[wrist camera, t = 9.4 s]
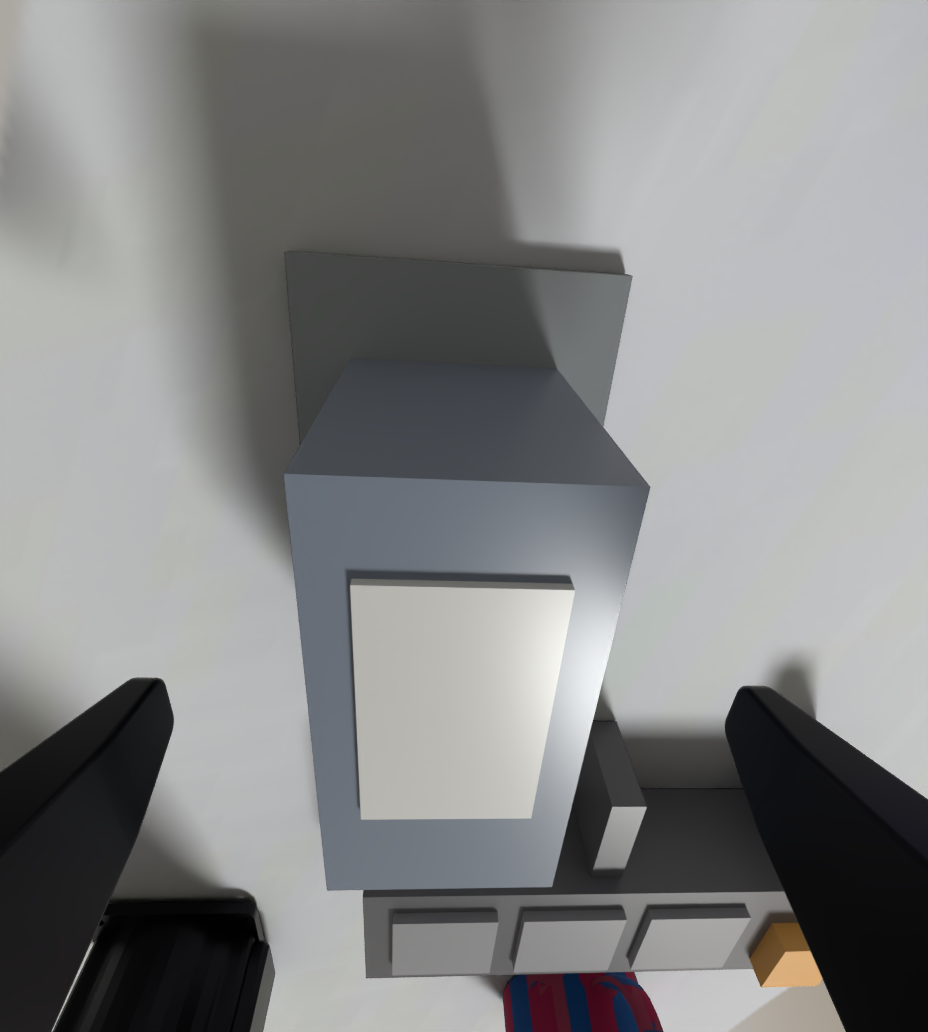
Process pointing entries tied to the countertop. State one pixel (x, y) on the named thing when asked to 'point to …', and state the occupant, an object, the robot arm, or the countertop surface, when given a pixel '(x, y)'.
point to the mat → (450, 320)
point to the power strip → (611, 894)
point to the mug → (578, 1003)
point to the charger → (454, 616)
